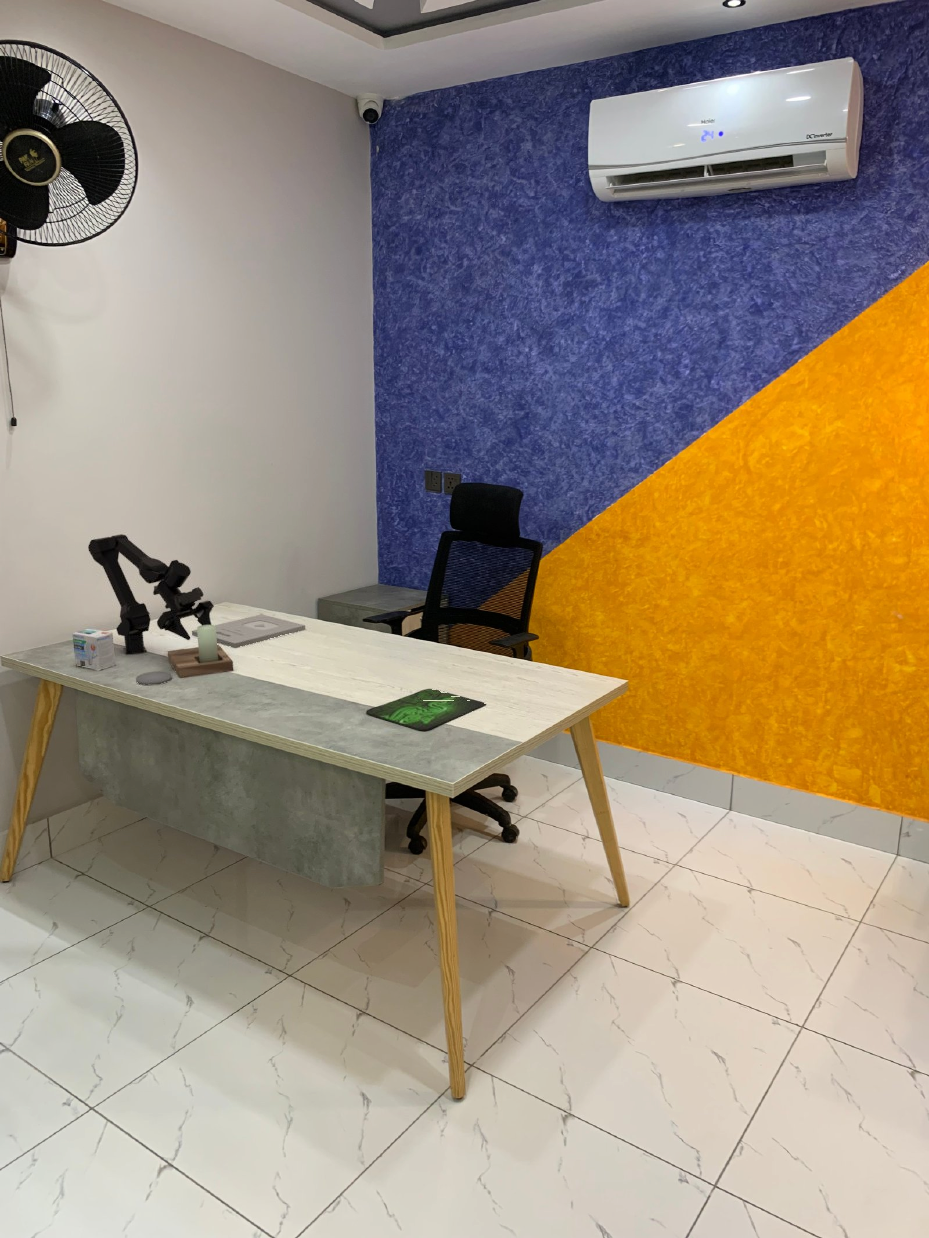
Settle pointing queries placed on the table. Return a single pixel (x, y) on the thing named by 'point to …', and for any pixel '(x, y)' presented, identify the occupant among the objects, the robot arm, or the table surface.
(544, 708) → the table surface
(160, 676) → the coaster
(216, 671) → the puzzle board
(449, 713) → the mouse mat
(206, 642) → the peg
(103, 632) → the light bulb box
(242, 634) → the award plaque
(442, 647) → the table surface
